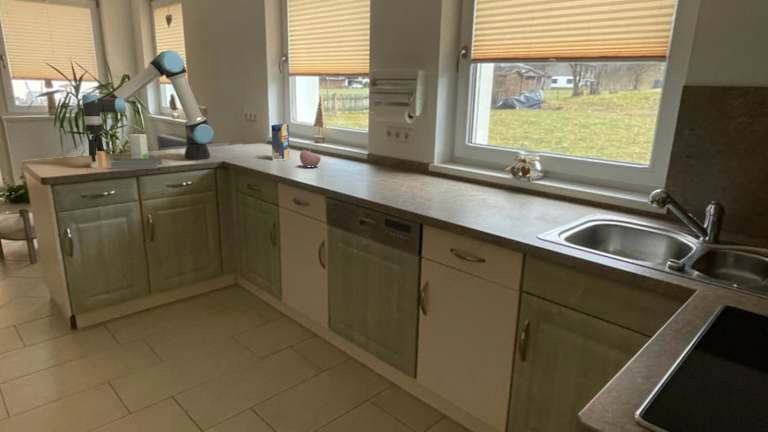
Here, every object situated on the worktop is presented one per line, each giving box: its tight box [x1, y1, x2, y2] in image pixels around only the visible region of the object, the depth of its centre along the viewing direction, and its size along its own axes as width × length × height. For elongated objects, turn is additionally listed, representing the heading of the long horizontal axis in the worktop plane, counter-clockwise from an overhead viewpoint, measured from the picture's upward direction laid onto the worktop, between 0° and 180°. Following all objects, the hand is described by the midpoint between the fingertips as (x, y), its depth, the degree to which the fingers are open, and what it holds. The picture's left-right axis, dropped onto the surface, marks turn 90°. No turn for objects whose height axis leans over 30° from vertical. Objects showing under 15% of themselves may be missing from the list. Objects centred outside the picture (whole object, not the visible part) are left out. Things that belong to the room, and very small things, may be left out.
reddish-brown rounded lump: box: [299, 147, 321, 168], centre depth 279 cm, size 12×12×12 cm
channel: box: [110, 157, 163, 170], centre depth 264 cm, size 22×15×3 cm
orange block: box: [88, 150, 107, 168], centre depth 259 cm, size 6×6×8 cm
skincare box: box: [128, 133, 149, 158], centre depth 280 cm, size 8×7×16 cm
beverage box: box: [270, 123, 290, 159], centre depth 302 cm, size 7×11×22 cm, turn 169°
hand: (98, 166), depth 260 cm, fingers open, 9 cm apart
